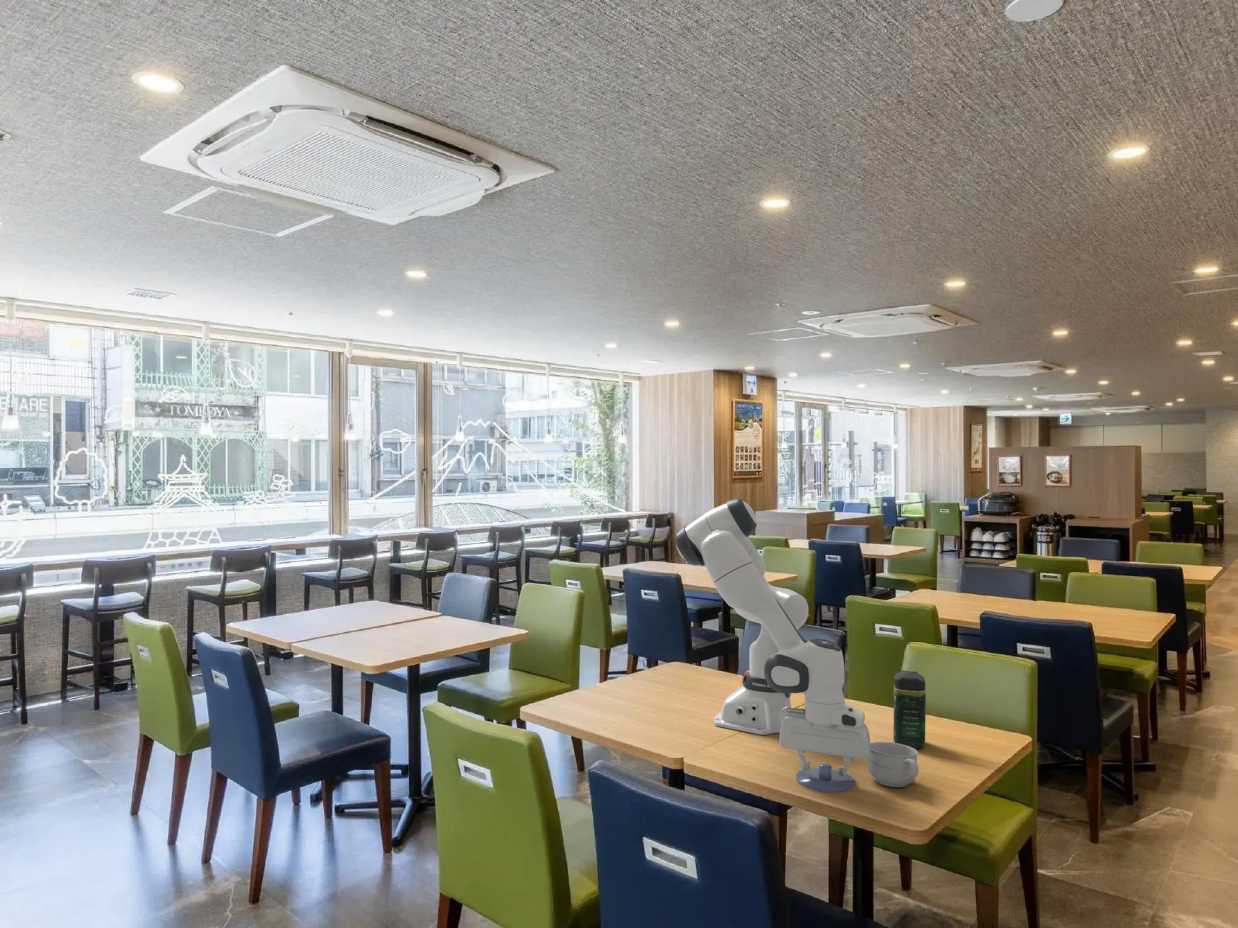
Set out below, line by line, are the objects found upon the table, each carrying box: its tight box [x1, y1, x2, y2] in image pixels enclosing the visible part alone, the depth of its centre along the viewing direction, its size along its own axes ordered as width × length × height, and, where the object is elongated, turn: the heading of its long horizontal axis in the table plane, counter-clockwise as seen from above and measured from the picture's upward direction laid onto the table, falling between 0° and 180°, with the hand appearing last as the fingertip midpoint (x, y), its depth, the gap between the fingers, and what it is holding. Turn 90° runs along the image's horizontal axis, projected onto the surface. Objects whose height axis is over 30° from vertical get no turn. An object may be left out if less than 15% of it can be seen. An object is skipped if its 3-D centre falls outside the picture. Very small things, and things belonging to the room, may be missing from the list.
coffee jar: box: [892, 669, 927, 750], centre depth 208 cm, size 10×8×19 cm
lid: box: [795, 762, 856, 793], centre depth 182 cm, size 13×13×4 cm
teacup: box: [867, 741, 919, 788], centre depth 180 cm, size 14×11×8 cm
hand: (824, 772), depth 182 cm, fingers open, 7 cm apart
